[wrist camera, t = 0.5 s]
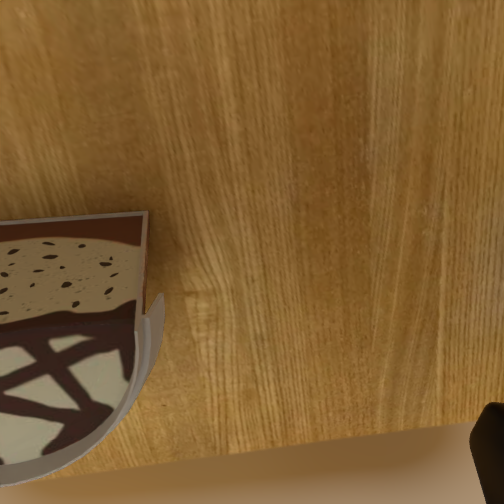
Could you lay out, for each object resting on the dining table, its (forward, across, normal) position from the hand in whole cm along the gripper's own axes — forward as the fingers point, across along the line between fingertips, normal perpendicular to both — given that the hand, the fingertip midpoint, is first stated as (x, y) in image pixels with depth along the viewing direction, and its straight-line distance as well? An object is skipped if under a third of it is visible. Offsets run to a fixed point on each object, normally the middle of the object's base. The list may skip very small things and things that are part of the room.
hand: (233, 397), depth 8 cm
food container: (+15, +7, +8) cm, 18 cm away
